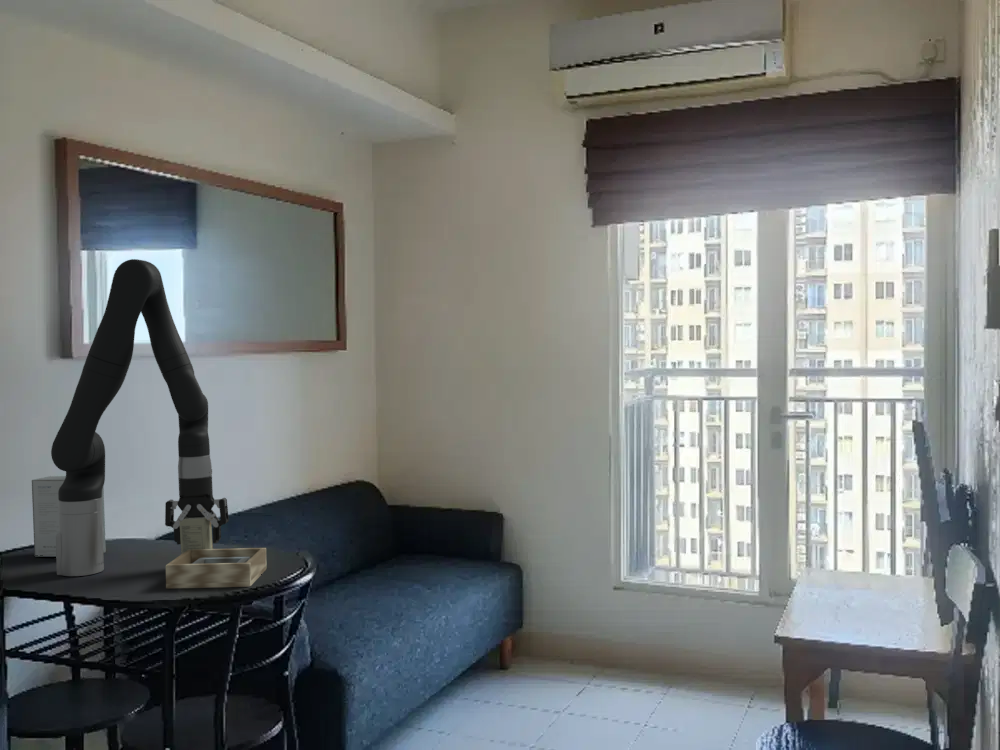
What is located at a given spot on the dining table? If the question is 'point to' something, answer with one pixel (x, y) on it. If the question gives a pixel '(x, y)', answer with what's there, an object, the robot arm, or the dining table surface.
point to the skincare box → (195, 534)
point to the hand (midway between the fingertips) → (198, 543)
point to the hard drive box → (50, 514)
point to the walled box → (216, 568)
